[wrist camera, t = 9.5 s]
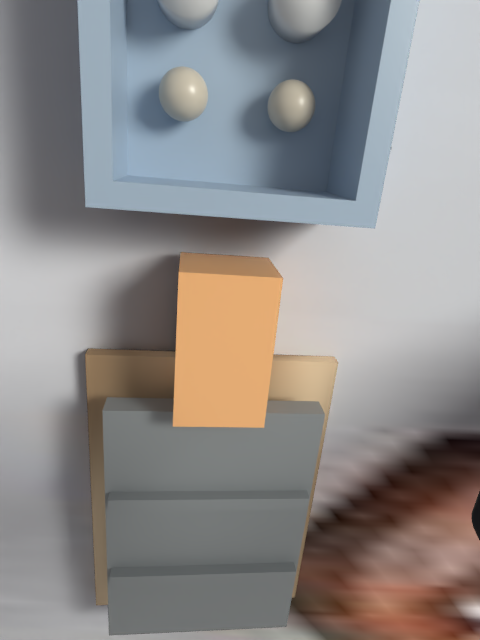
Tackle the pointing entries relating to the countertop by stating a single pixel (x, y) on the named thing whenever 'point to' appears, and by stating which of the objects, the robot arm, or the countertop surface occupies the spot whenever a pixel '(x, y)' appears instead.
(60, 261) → the countertop surface
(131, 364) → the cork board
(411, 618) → the countertop surface
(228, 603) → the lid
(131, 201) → the tub
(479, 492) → the robot arm
